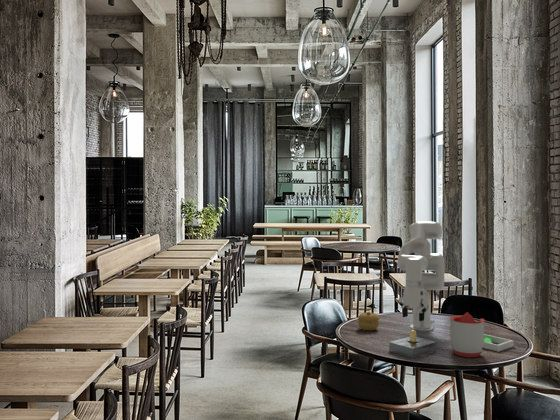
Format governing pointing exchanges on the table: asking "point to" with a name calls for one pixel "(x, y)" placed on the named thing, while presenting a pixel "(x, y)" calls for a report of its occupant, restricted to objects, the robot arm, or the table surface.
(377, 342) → the table surface
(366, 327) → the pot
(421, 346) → the base block
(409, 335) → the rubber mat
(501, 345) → the frame
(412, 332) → the brass pin
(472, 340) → the citrus juicer
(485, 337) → the mechanical part
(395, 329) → the table surface
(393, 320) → the table surface
